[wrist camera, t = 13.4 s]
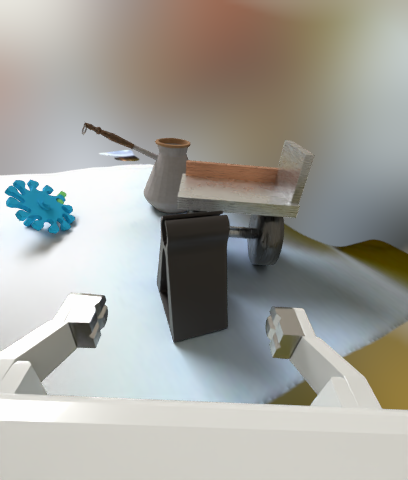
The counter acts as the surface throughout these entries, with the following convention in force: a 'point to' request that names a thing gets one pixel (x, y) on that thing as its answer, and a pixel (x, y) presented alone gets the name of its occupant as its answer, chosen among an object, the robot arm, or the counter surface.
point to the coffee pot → (159, 169)
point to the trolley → (250, 197)
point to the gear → (39, 206)
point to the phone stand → (194, 272)
